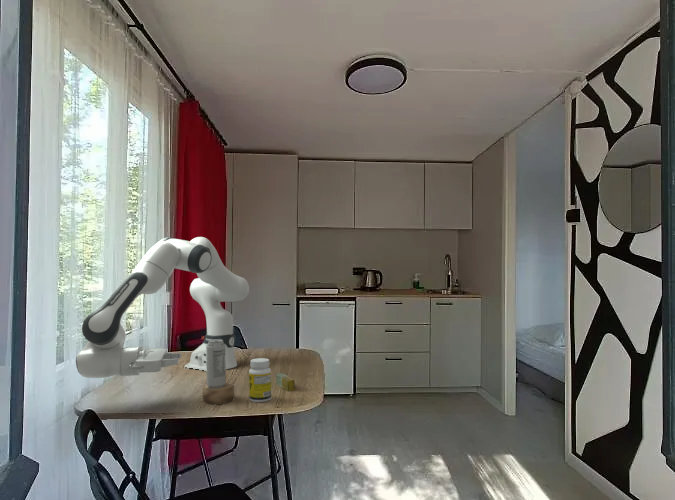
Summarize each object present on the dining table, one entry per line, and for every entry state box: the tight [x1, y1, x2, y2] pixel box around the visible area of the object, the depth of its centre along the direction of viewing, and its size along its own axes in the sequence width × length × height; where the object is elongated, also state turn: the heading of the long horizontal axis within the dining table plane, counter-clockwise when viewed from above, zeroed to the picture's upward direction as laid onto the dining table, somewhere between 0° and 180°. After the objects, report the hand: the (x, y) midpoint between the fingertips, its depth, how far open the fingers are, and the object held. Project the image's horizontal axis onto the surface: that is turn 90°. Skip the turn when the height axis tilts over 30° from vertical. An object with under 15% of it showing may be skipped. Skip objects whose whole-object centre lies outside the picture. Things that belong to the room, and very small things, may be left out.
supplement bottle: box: [248, 357, 273, 403], centre depth 154 cm, size 7×7×13 cm
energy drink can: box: [206, 340, 227, 389], centre depth 154 cm, size 6×6×15 cm
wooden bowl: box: [202, 382, 235, 405], centre depth 155 cm, size 10×10×4 cm
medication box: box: [275, 372, 296, 392], centre depth 169 cm, size 12×3×4 cm, turn 28°
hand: (179, 358), depth 152 cm, fingers open, 8 cm apart
